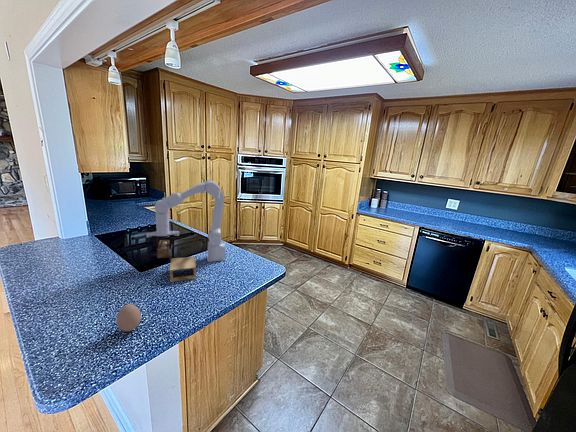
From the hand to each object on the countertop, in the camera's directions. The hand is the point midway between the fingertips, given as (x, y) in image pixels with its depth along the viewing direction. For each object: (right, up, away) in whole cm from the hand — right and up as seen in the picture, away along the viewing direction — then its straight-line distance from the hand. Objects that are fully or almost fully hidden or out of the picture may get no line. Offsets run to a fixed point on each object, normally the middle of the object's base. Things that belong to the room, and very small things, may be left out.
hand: (164, 249), depth 120 cm
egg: (+11, -21, -42) cm, 48 cm away
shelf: (+13, -11, -6) cm, 18 cm away
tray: (0, -2, 0) cm, 2 cm away
